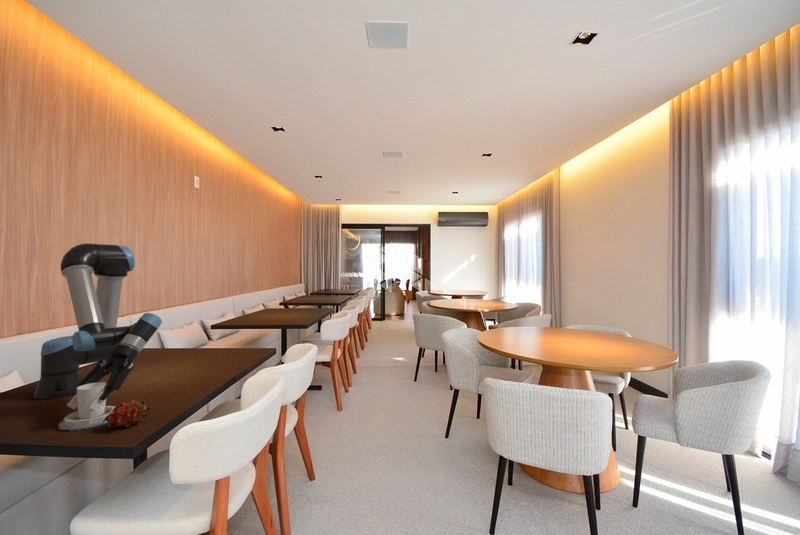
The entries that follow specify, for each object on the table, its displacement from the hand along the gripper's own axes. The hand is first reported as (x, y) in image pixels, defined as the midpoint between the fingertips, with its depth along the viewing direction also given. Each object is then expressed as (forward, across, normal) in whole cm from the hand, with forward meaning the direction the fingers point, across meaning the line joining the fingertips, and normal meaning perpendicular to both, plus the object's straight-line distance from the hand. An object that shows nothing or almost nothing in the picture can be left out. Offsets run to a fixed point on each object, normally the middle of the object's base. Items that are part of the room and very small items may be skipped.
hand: (81, 408), depth 113 cm
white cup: (0, 0, -5) cm, 5 cm away
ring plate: (+1, 0, -6) cm, 6 cm away
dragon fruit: (+3, -16, -5) cm, 17 cm away
